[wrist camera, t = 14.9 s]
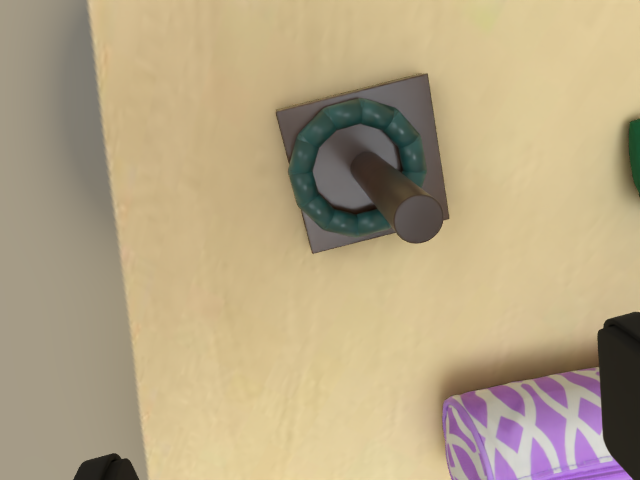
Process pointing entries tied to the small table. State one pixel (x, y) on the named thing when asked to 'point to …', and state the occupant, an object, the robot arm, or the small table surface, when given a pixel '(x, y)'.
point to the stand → (374, 165)
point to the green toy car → (635, 151)
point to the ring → (321, 131)
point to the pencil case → (530, 431)
